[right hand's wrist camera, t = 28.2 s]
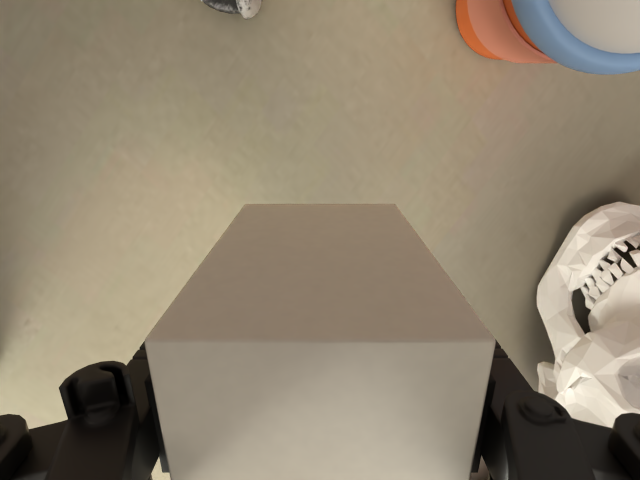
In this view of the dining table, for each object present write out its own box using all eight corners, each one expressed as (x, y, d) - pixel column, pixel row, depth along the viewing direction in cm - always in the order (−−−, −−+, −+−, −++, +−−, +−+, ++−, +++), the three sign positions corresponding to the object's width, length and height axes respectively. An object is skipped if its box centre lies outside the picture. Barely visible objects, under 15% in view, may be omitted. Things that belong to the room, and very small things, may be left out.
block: (244, 203, 15) (142, 339, 6) (395, 203, 15) (498, 340, 6) (254, 338, 17) (188, 575, 9) (386, 338, 17) (452, 574, 9)
